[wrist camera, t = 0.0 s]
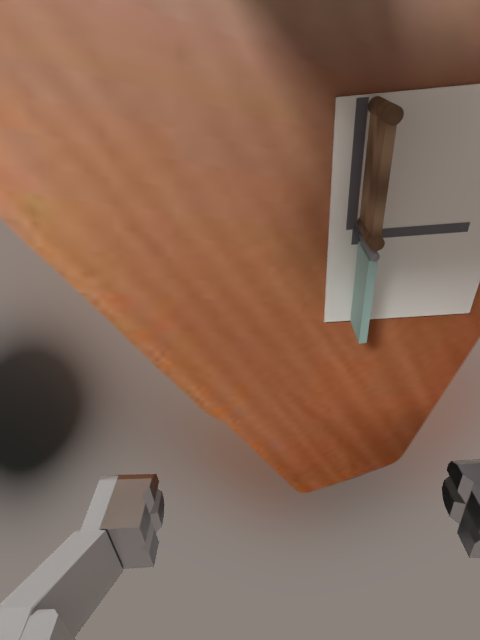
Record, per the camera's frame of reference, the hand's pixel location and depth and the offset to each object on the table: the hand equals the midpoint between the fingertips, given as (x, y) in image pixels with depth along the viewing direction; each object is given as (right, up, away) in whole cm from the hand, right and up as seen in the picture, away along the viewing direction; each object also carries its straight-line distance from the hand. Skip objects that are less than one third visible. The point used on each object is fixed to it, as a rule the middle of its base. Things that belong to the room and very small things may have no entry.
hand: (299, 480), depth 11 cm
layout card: (+19, +16, +36) cm, 44 cm away
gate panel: (+14, +10, +40) cm, 43 cm away
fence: (+12, +21, +32) cm, 41 cm away
